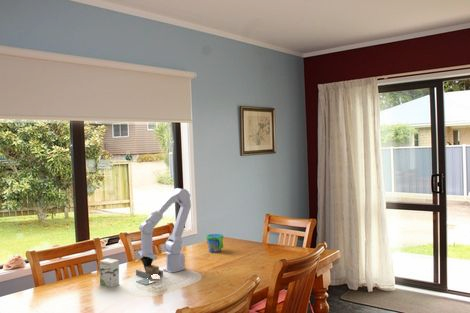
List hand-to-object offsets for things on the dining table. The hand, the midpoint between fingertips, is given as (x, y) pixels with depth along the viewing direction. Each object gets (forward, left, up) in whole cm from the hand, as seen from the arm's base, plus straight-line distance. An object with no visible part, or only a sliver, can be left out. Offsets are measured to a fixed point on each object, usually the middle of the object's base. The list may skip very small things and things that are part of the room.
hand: (147, 271), depth 218 cm
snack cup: (-56, -8, -2) cm, 57 cm away
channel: (0, +2, -2) cm, 3 cm away
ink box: (+21, -1, -2) cm, 21 cm away
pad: (+8, +10, -2) cm, 12 cm away
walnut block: (0, +4, -2) cm, 5 cm away
